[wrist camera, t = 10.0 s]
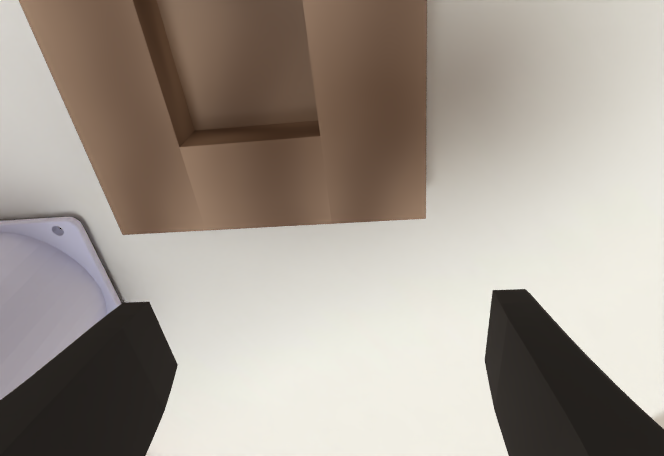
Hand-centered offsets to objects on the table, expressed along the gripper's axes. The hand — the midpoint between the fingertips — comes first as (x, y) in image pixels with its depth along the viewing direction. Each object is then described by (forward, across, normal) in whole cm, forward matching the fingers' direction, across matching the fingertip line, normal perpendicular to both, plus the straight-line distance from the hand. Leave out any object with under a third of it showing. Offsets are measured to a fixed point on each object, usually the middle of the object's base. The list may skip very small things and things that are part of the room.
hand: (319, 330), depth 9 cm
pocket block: (+9, +3, -4) cm, 11 cm away
